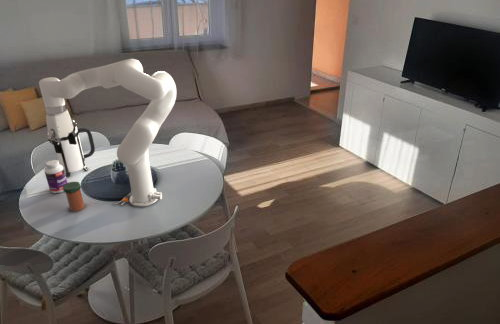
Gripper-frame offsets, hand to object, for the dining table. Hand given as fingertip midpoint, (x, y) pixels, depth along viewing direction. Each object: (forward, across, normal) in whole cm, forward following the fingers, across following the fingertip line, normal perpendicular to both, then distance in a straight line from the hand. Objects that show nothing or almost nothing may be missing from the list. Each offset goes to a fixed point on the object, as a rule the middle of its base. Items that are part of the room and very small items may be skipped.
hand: (66, 148), depth 171 cm
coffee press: (+26, -27, -21) cm, 43 cm away
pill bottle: (+26, -7, -16) cm, 32 cm away
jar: (+26, +5, +2) cm, 27 cm away
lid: (+15, +5, +2) cm, 16 cm away
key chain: (+26, -6, +20) cm, 34 cm away
